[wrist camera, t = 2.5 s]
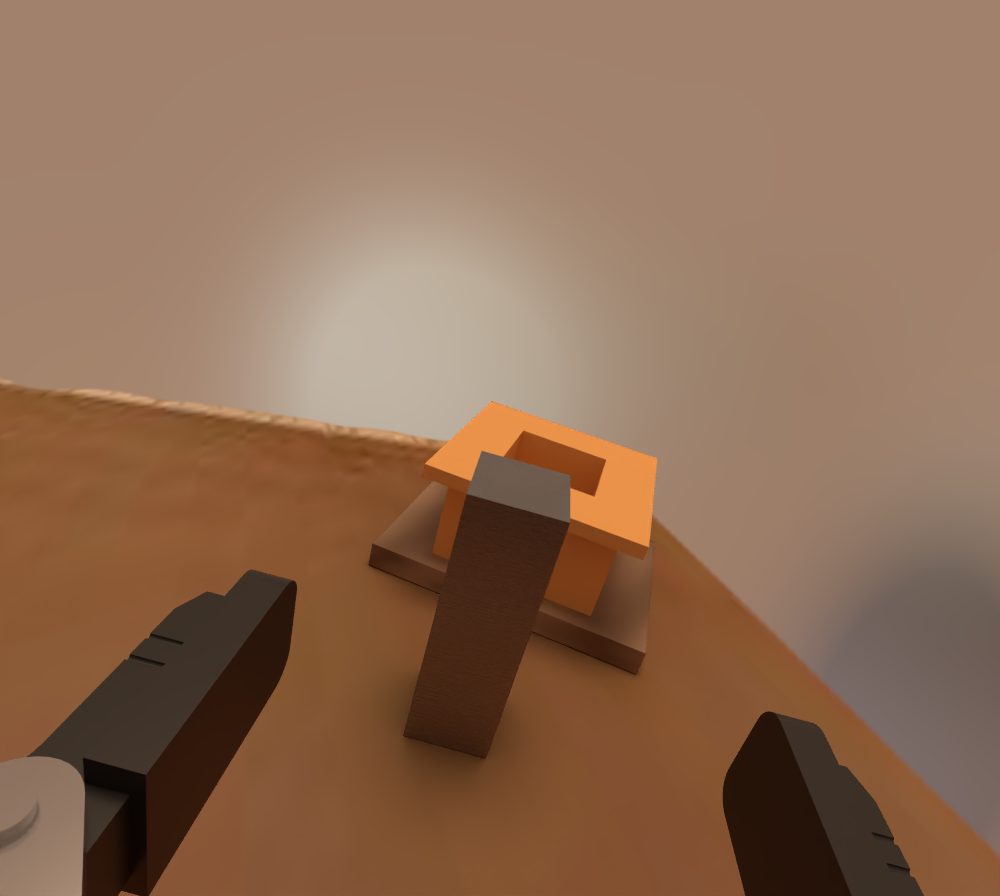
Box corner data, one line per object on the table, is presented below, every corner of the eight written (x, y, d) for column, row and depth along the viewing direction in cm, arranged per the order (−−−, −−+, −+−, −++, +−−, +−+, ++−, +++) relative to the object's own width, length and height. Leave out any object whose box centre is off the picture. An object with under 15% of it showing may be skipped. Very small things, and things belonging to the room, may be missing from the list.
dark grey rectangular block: (403, 735, 24) (466, 494, 19) (423, 671, 28) (481, 450, 23) (485, 758, 24) (570, 522, 19) (496, 691, 28) (570, 475, 23)
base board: (368, 564, 33) (372, 543, 33) (444, 482, 44) (448, 465, 44) (635, 674, 31) (645, 653, 30) (647, 558, 42) (654, 541, 41)
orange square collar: (404, 556, 33) (424, 463, 30) (472, 474, 43) (492, 401, 41) (609, 638, 31) (648, 547, 28) (627, 531, 41) (657, 458, 39)
